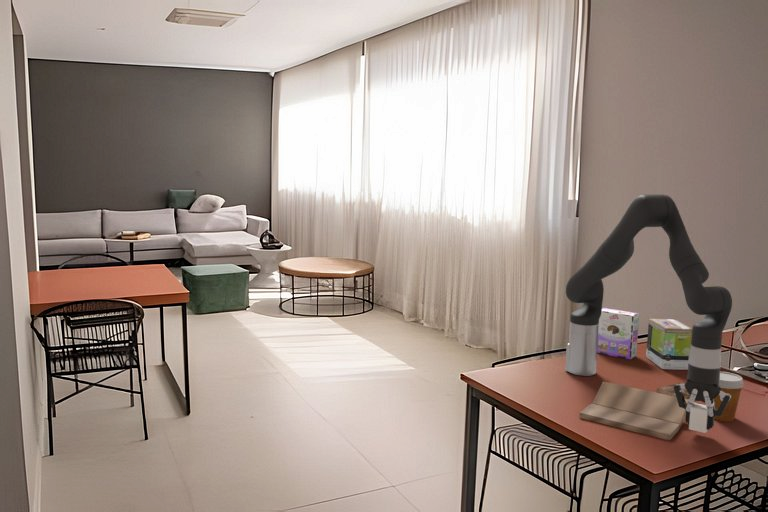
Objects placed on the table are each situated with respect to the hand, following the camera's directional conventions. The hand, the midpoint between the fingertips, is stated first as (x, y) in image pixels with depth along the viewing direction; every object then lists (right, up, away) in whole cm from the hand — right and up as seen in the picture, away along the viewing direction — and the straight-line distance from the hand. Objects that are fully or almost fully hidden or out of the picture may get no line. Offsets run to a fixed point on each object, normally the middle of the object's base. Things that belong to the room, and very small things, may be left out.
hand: (699, 426), depth 174 cm
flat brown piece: (+9, +2, +34) cm, 35 cm away
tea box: (+18, +6, +63) cm, 66 cm away
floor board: (-16, -1, +8) cm, 18 cm away
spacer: (0, -1, 0) cm, 1 cm away
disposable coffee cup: (+13, -1, +13) cm, 18 cm away
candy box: (+3, +8, +73) cm, 73 cm away
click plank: (-10, +2, +15) cm, 18 cm away
